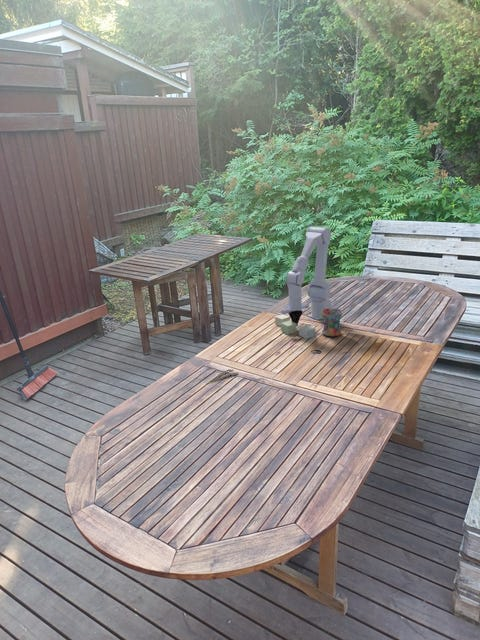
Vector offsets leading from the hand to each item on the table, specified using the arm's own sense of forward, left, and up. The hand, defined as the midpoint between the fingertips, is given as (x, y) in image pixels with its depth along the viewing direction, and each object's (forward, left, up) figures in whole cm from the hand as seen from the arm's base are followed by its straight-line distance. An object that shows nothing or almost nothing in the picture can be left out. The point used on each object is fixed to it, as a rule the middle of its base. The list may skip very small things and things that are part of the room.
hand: (295, 325), depth 209 cm
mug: (-10, +14, -2) cm, 18 cm away
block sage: (+4, 0, -2) cm, 4 cm away
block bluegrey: (+1, +9, -2) cm, 9 cm away
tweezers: (+53, +20, -3) cm, 57 cm away
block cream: (+1, -9, -2) cm, 9 cm away
